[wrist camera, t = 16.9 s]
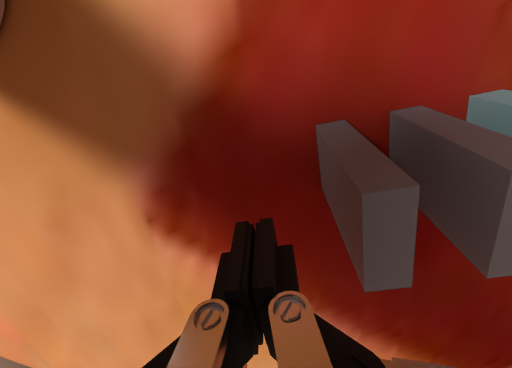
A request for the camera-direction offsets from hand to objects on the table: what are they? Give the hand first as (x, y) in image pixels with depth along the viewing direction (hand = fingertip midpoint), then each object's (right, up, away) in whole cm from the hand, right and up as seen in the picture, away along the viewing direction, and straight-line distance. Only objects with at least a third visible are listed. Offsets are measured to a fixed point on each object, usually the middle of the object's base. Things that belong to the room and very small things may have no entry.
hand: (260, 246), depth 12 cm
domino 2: (+10, +6, +7) cm, 14 cm away
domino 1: (+5, +5, +7) cm, 10 cm away
